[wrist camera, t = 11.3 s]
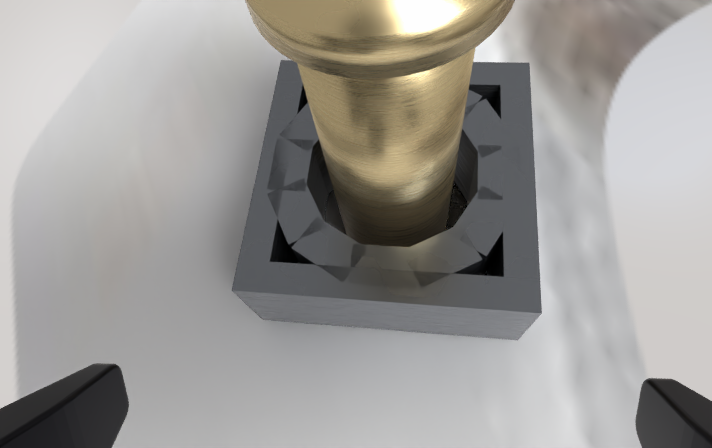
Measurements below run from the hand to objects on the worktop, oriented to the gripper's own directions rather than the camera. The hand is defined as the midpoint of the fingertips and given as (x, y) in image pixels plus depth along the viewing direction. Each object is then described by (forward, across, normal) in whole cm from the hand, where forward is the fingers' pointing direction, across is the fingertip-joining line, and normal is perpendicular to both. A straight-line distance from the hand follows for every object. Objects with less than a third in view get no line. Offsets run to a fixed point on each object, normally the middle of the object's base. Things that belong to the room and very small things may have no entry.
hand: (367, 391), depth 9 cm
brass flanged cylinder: (+11, 0, +1) cm, 11 cm away
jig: (+11, 0, +1) cm, 11 cm away
